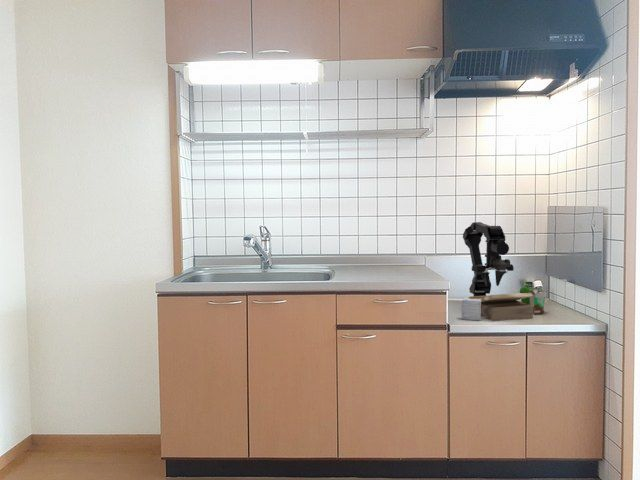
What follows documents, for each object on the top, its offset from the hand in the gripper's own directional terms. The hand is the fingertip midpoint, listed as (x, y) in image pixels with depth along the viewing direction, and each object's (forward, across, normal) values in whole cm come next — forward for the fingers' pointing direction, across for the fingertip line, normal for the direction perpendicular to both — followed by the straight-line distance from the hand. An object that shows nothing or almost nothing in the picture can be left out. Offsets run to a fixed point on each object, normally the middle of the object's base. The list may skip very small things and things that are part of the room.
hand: (492, 286), depth 240 cm
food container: (+12, +20, -7) cm, 24 cm away
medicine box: (+12, -17, -11) cm, 24 cm away
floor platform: (+12, 0, -6) cm, 14 cm away
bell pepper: (+12, +28, +12) cm, 33 cm away
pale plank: (+4, 0, -10) cm, 11 cm away
